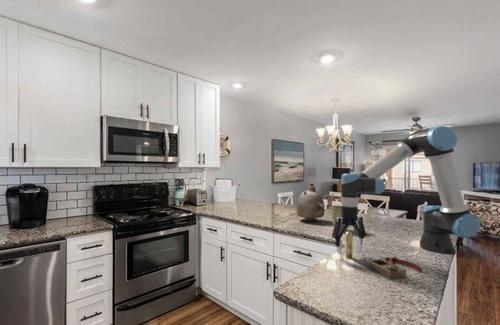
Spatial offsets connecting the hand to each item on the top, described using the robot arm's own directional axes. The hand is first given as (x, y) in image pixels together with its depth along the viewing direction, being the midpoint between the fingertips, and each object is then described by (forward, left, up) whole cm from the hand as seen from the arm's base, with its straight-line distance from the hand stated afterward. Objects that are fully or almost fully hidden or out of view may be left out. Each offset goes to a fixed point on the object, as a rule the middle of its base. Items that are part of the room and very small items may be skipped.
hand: (349, 252), depth 123 cm
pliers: (-16, +13, -3) cm, 21 cm away
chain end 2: (-3, +19, -2) cm, 19 cm away
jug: (-25, -78, -3) cm, 82 cm away
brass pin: (0, 0, -2) cm, 2 cm away
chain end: (-3, +14, -2) cm, 14 cm away
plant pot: (-30, -46, -3) cm, 55 cm away
